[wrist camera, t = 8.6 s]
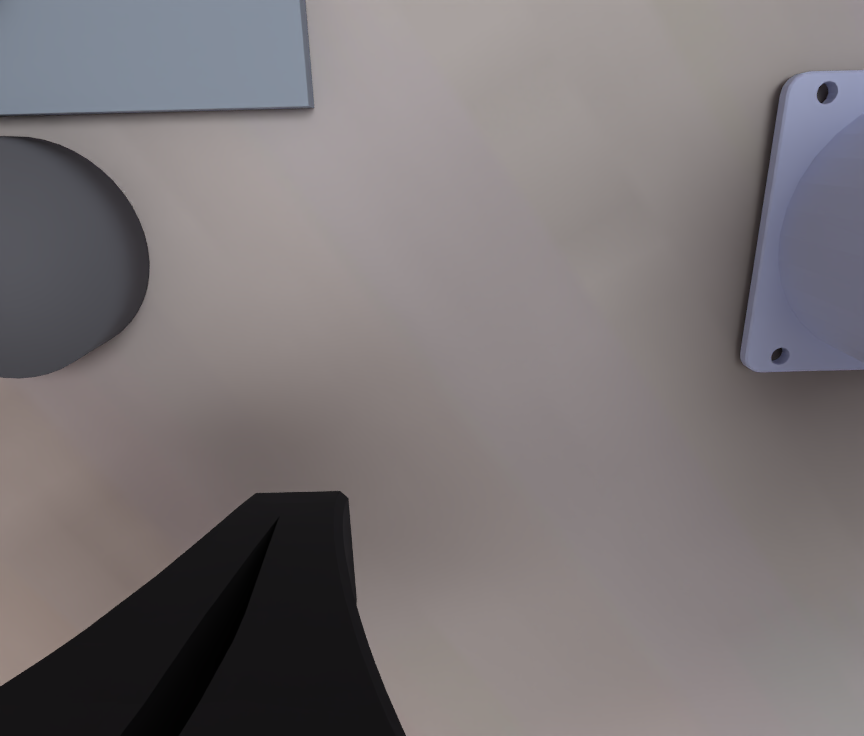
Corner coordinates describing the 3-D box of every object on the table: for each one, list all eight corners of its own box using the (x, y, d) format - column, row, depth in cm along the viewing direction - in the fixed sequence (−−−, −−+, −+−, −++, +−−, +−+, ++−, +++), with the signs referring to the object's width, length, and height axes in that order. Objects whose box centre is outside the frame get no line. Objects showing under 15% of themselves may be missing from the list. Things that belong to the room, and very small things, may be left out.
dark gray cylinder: (126, 133, 16) (83, 132, 14) (165, 349, 18) (132, 375, 16) (-100, 139, 16) (-177, 139, 14) (-36, 354, 18) (-94, 381, 16)
